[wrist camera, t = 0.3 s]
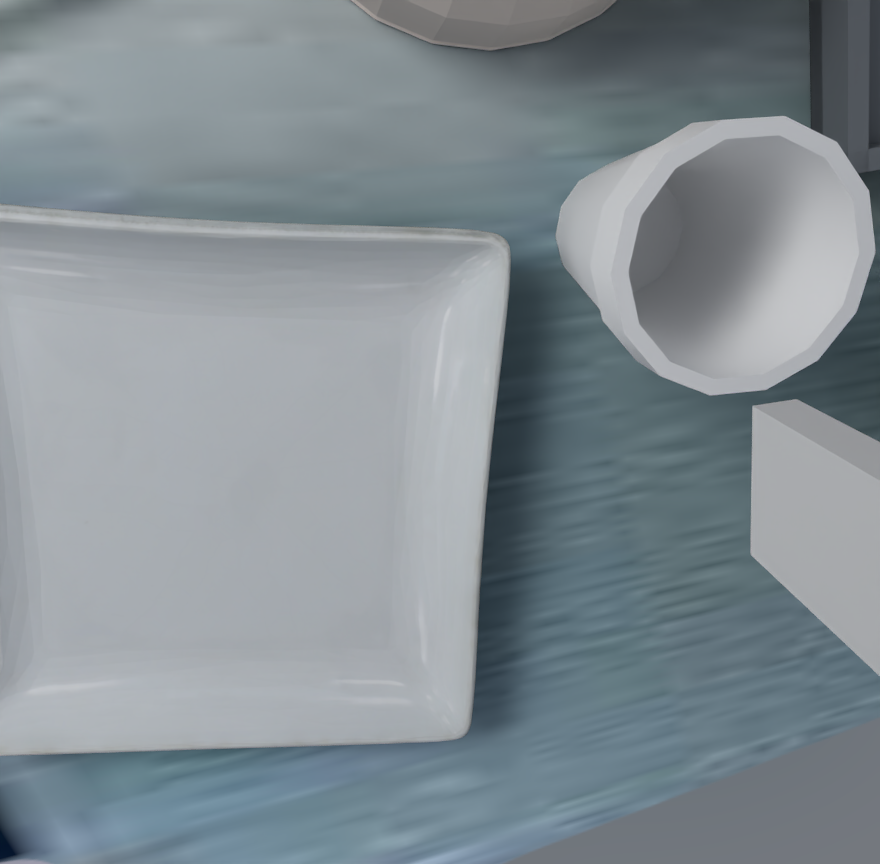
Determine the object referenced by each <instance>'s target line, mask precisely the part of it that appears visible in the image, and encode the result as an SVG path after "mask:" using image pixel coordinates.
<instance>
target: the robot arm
mask: <svg viewBox="0 0 880 864" xmlns="http://www.w3.org/2000/svg"><path fill="white" fill-rule="evenodd" d="M751 555H752V556H753V557H754V558H755V559H756V560H757V561H758V562H759V563H760V564H761V565H762V566H763V567H764V568H765V569H767V570H768V571H769V572H770V573H771V574H772V575H773V576H774V577H775V578H776V579H777V580H778V581H779V582H780V583H781V584H782V585H784V586H785V587H786V588H787V589H788V590H789V591H790V592H791V593H792V594H793V595H794V596H795V597H796V598H797V599H798V600H799V601H801V602H802V603H803V604H804V605H805V606H806V607H807V608H808V609H809V610H810V611H811V612H812V613H813V614H814V615H815V616H816V617H818V618H819V619H820V620H821V621H822V622H823V623H824V624H825V625H826V626H827V627H828V628H829V629H830V630H831V631H832V632H833V633H835V634H836V635H837V636H838V637H839V638H840V639H841V640H842V641H843V642H844V643H845V644H846V645H847V646H848V647H849V648H850V649H852V650H853V651H854V652H855V653H856V654H857V655H858V656H859V657H860V658H861V659H862V660H863V661H864V662H865V663H866V664H867V665H869V666H870V667H871V668H872V669H873V670H874V671H875V672H876V673H877V674H878V675H879V676H880V442H878V441H876V440H875V439H873V438H871V437H869V436H867V435H865V434H863V433H861V432H859V431H857V430H855V429H853V428H851V427H849V426H847V425H846V424H844V423H842V422H840V421H838V420H836V419H834V418H832V417H830V416H828V415H826V414H824V413H822V412H820V411H819V410H817V409H815V408H813V407H811V406H809V405H807V404H805V403H803V402H801V401H799V400H797V399H794V400H788V401H781V402H775V403H768V404H762V405H755V406H753V411H752V485H751Z"/></svg>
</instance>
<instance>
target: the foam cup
mask: <svg viewBox="0 0 880 864" xmlns="http://www.w3.org/2000/svg"><path fill="white" fill-rule="evenodd" d="M556 240H557V244H558V249H559V253H560V257H561V261H562V264H563V266H564V267H565V269H566V270H567V271H568V272H569V273H570V275H571V276H572V277H573V278H574V279H575V280H576V282H577V283H578V284H579V285H580V286H581V288H582V289H583V290H584V291H585V292H586V294H587V295H588V296H589V297H590V298H591V300H592V301H593V302H594V303H595V304H596V305H597V307H598V308H599V309H600V312H601V316H602V320H603V322H604V323H605V324H606V325H607V326H608V328H609V329H610V330H611V331H612V332H613V334H614V335H615V336H616V337H617V338H618V339H619V341H620V342H621V343H622V344H623V345H624V347H625V348H626V349H627V350H628V351H629V353H630V354H631V355H632V356H633V357H634V359H635V360H636V361H638V362H639V363H641V364H642V365H644V366H645V367H647V368H648V369H650V370H652V371H653V372H655V373H656V374H658V375H659V376H662V377H664V378H667V379H669V380H672V381H674V382H677V383H679V384H682V385H685V386H687V387H690V388H692V389H695V390H697V391H700V392H702V393H705V394H708V395H720V394H730V393H740V392H750V391H760V390H767V389H768V388H770V387H772V386H774V385H775V384H777V383H779V382H781V381H782V380H784V379H786V378H788V377H789V376H791V375H793V374H795V373H797V372H798V371H800V370H802V369H804V368H805V367H807V366H809V365H811V364H812V363H814V362H816V361H818V360H819V358H820V357H821V356H822V355H823V353H824V352H825V351H826V350H827V348H828V347H829V346H830V345H831V343H832V342H833V341H834V340H835V338H836V337H837V336H838V335H839V333H840V332H841V331H842V330H843V328H844V327H845V326H846V325H847V323H848V322H849V321H850V320H851V318H852V317H853V316H854V315H855V313H856V312H857V310H858V306H859V303H860V300H861V297H862V294H863V290H864V287H865V284H866V281H867V278H868V274H869V271H870V268H871V265H872V261H873V258H874V255H875V252H876V251H875V242H874V232H873V223H872V214H871V204H870V195H869V190H868V189H867V187H866V185H865V184H864V182H863V181H862V179H861V178H860V176H859V175H858V173H857V172H856V170H855V169H854V167H853V166H852V164H851V163H850V161H849V159H848V158H847V156H846V155H845V153H844V152H843V150H842V149H841V147H840V146H839V144H838V143H837V142H836V141H834V140H832V139H830V138H828V137H826V136H824V135H822V134H820V133H818V132H816V131H814V130H812V129H810V128H808V127H806V126H804V125H802V124H800V123H798V122H796V121H794V120H792V119H790V118H788V117H786V116H775V117H759V118H744V119H729V120H716V121H706V122H696V123H691V124H689V125H688V126H686V127H684V128H683V129H681V130H679V131H678V132H676V133H674V134H672V135H671V136H669V137H667V138H666V139H664V140H662V141H661V142H659V143H657V144H655V145H653V146H650V147H648V148H646V149H643V150H641V151H638V152H636V153H634V154H631V155H629V156H626V157H624V158H622V159H619V160H617V161H614V162H612V163H610V164H608V165H606V166H604V167H602V168H600V169H599V170H597V171H595V172H594V173H592V174H590V175H588V176H587V177H585V178H583V179H582V180H580V181H579V182H578V183H577V185H576V186H575V187H574V189H573V190H572V192H571V193H570V195H569V196H568V198H567V199H566V200H565V202H564V203H563V205H562V206H561V211H560V216H559V221H558V226H557V231H556Z"/></svg>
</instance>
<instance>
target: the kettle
mask: <svg viewBox="0 0 880 864" xmlns="http://www.w3.org/2000/svg"><path fill="white" fill-rule="evenodd" d="M351 1H353V2H354V3H355V4H356V5H358V6H359V7H360V8H361V9H363V10H364V11H365V12H366V13H368V14H369V15H370V16H372V17H373V18H374V19H375V20H378V21H380V22H383V23H385V24H387V25H390V26H392V27H394V28H397V29H399V30H401V31H404V32H406V33H408V34H411V35H413V36H415V37H418V38H420V39H422V40H425V41H427V42H429V43H432V44H440V45H448V46H456V47H465V48H473V49H481V50H489V51H491V50H497V49H502V48H508V47H514V46H520V45H526V44H531V43H537V42H543V41H548V40H550V39H552V38H554V37H556V36H558V35H560V34H562V33H564V32H566V31H568V30H570V29H572V28H575V27H577V26H579V25H581V24H583V23H585V22H587V21H589V20H591V19H593V18H595V17H597V16H599V15H601V14H602V13H603V12H604V11H605V10H607V9H608V8H609V7H610V6H611V5H612V4H613V3H615V2H616V1H617V0H351Z"/></svg>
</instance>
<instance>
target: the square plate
mask: <svg viewBox="0 0 880 864" xmlns="http://www.w3.org/2000/svg"><path fill="white" fill-rule="evenodd" d="M510 268H511V256H510V247H509V244H508V243H507V241H506V240H505V239H504V238H503V237H502V236H500V235H498V234H495V233H490V232H484V231H478V230H467V229H450V228H432V227H392V226H360V225H319V224H292V223H259V222H237V221H217V220H199V219H183V218H168V217H153V216H138V215H124V214H111V213H99V212H87V211H75V210H64V209H53V208H42V207H31V206H20V205H9V204H0V756H7V755H44V754H74V753H107V752H135V751H164V750H194V749H226V748H260V747H296V746H328V745H359V744H390V743H415V742H436V741H447V740H455V739H459V738H462V737H463V736H465V735H466V734H467V733H468V731H469V728H470V725H471V720H472V712H473V702H474V691H475V677H476V659H477V640H478V620H479V599H480V584H481V571H482V553H483V539H484V526H485V512H486V501H487V491H488V481H489V470H490V460H491V450H492V441H493V432H494V423H495V414H496V406H497V397H498V388H499V380H500V371H501V362H502V353H503V344H504V336H505V327H506V317H507V308H508V298H509V288H510Z"/></svg>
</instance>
